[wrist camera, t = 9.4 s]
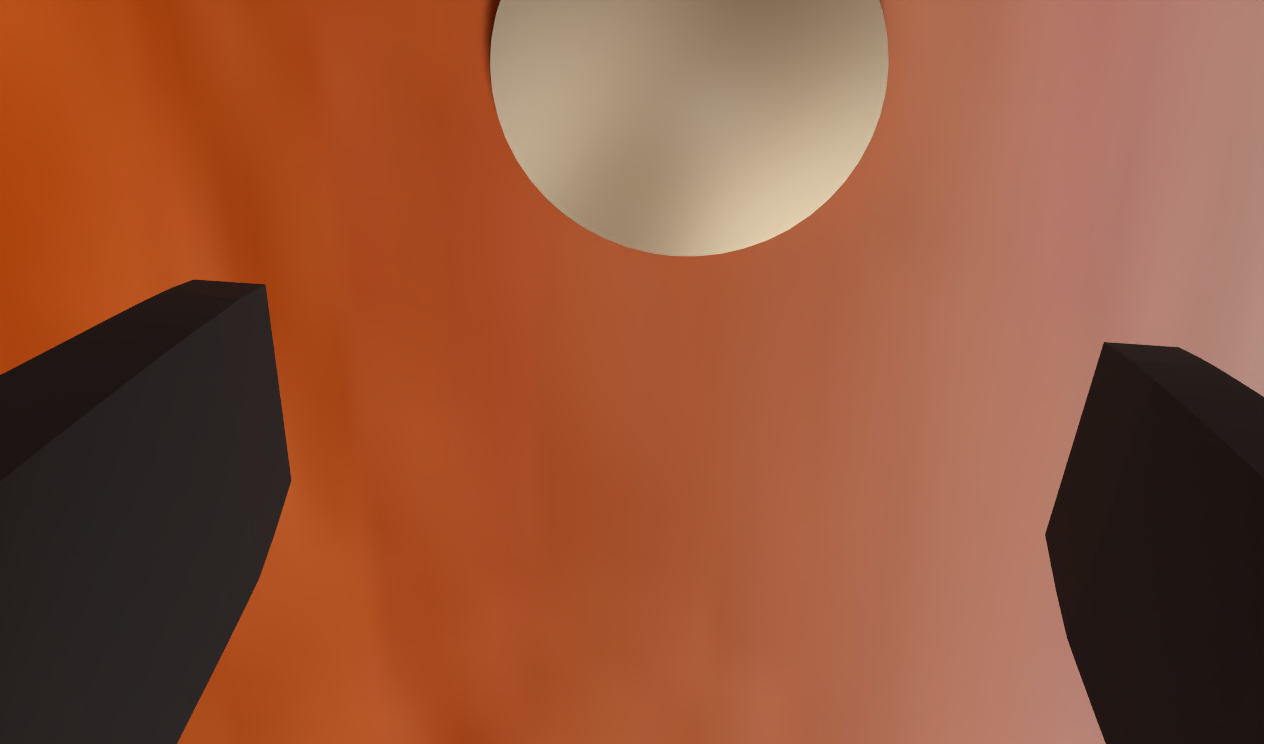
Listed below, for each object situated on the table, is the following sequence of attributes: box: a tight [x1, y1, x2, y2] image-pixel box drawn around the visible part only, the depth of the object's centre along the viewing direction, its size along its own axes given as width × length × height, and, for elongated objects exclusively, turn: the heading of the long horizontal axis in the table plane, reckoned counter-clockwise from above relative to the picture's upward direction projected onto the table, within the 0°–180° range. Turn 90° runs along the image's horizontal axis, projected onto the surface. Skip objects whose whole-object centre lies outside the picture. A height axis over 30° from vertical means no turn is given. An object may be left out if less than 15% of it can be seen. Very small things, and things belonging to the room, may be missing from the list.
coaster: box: [490, 0, 889, 256], centre depth 18 cm, size 6×6×1 cm
